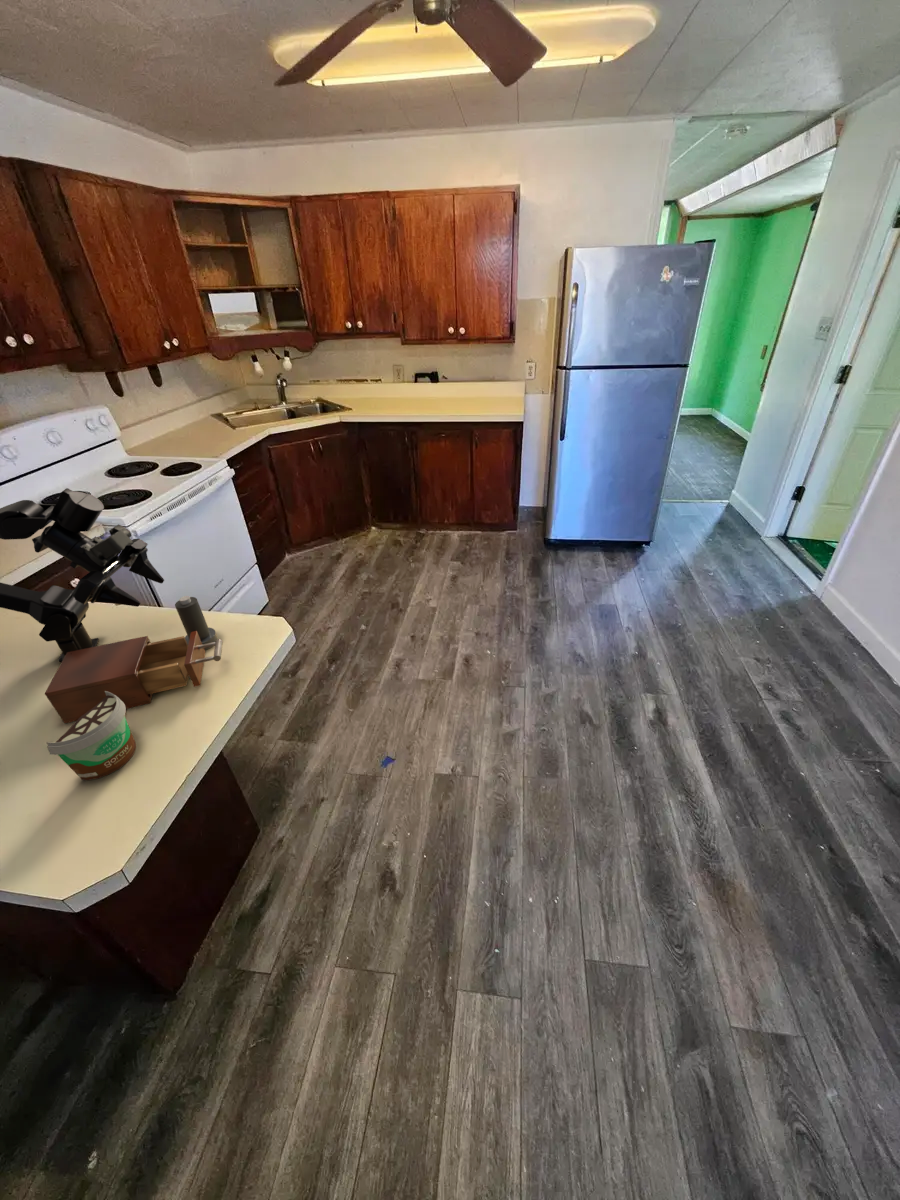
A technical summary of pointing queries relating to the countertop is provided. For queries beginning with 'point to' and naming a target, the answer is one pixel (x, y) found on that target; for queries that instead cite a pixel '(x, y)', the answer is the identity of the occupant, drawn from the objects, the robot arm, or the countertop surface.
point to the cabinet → (98, 678)
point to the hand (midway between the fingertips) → (151, 592)
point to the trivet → (209, 639)
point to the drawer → (175, 662)
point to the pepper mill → (192, 616)
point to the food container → (97, 740)
